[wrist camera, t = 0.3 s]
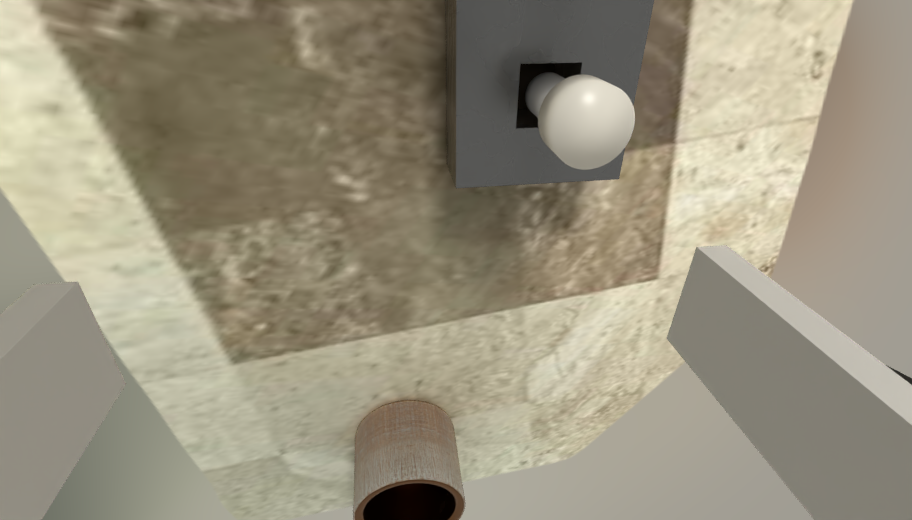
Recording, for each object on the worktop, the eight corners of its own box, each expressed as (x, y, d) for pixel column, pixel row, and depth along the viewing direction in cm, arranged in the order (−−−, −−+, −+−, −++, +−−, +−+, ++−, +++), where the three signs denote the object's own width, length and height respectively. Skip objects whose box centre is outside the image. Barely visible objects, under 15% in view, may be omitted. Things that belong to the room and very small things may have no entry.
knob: (515, 58, 29) (557, 84, 22) (582, 57, 30) (642, 82, 23) (510, 129, 31) (547, 171, 25) (573, 126, 32) (625, 167, 25)
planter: (440, 462, 56) (451, 544, 48) (349, 459, 54) (344, 545, 45) (463, 399, 51) (479, 479, 43) (363, 392, 48) (361, 476, 40)
